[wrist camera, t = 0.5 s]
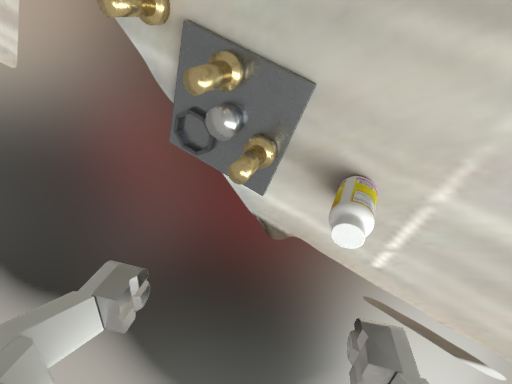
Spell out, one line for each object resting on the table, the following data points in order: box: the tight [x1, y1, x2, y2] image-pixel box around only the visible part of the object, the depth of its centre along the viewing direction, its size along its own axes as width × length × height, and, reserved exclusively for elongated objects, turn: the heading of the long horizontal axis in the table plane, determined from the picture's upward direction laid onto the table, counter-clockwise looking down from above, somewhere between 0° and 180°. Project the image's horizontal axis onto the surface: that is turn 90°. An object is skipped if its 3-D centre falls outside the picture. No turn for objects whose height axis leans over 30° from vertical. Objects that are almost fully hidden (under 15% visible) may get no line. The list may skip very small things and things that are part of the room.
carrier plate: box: [169, 21, 316, 196], centre depth 46 cm, size 24×24×12 cm
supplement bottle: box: [329, 176, 377, 249], centre depth 43 cm, size 7×7×13 cm
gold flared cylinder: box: [97, 0, 170, 25], centre depth 41 cm, size 6×6×10 cm
